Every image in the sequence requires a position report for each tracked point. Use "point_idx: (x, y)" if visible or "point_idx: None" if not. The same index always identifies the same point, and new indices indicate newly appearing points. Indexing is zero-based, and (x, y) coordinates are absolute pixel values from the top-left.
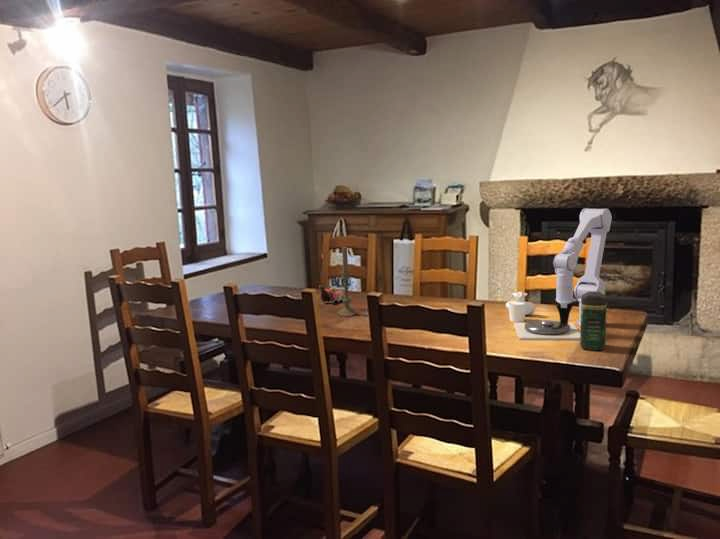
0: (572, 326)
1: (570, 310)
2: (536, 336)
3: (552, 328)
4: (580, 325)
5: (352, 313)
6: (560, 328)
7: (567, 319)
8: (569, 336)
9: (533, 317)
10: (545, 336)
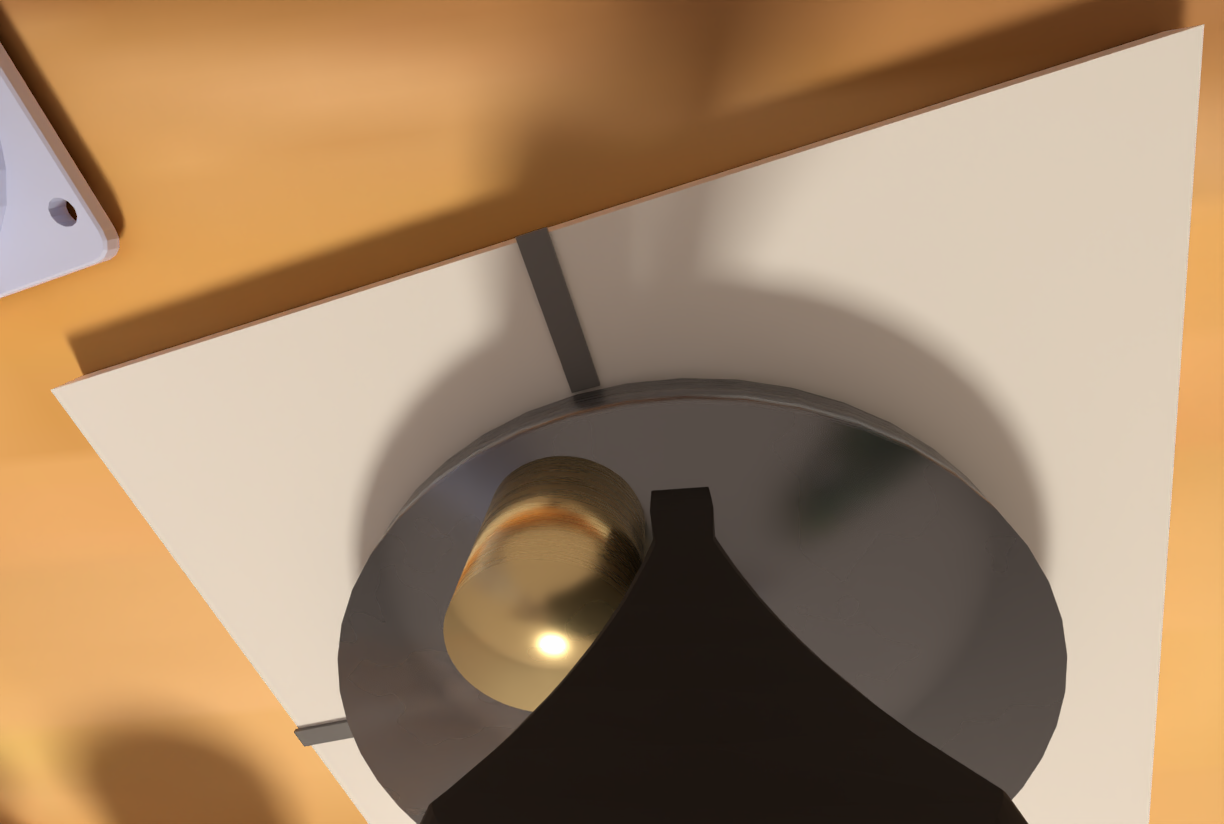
0: (302, 371)
1: (882, 711)
2: (1088, 735)
3: (884, 649)
4: (106, 247)
5: None
6: (863, 544)
7: (714, 544)
8: (1072, 336)
9: (15, 816)
10: (1084, 649)
